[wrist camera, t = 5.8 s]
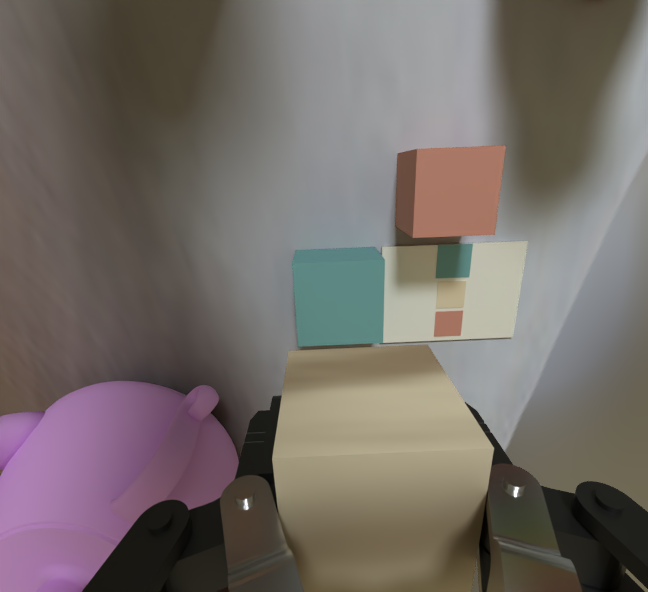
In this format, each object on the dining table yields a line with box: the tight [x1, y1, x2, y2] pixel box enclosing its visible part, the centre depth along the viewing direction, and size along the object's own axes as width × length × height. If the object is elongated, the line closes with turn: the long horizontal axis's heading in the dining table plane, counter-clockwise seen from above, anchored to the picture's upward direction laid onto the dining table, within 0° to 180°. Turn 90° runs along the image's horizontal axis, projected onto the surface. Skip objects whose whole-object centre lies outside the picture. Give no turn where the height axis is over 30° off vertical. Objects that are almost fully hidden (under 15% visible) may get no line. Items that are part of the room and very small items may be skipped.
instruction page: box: [382, 241, 528, 343], centre depth 27 cm, size 8×11×1 cm
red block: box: [395, 145, 506, 238], centre depth 23 cm, size 5×5×5 cm
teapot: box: [0, 381, 239, 592], centre depth 25 cm, size 22×22×14 cm
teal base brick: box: [292, 247, 385, 347], centre depth 25 cm, size 6×6×4 cm
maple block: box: [272, 345, 494, 592], centre depth 11 cm, size 5×5×5 cm
